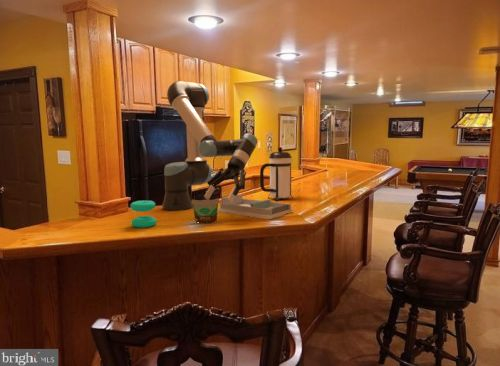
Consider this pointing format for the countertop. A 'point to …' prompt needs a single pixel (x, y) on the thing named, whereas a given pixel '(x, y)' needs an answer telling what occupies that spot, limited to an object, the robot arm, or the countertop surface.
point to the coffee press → (278, 175)
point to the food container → (205, 210)
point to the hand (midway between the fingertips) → (217, 199)
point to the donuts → (143, 220)
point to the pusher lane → (253, 208)
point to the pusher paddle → (261, 204)
